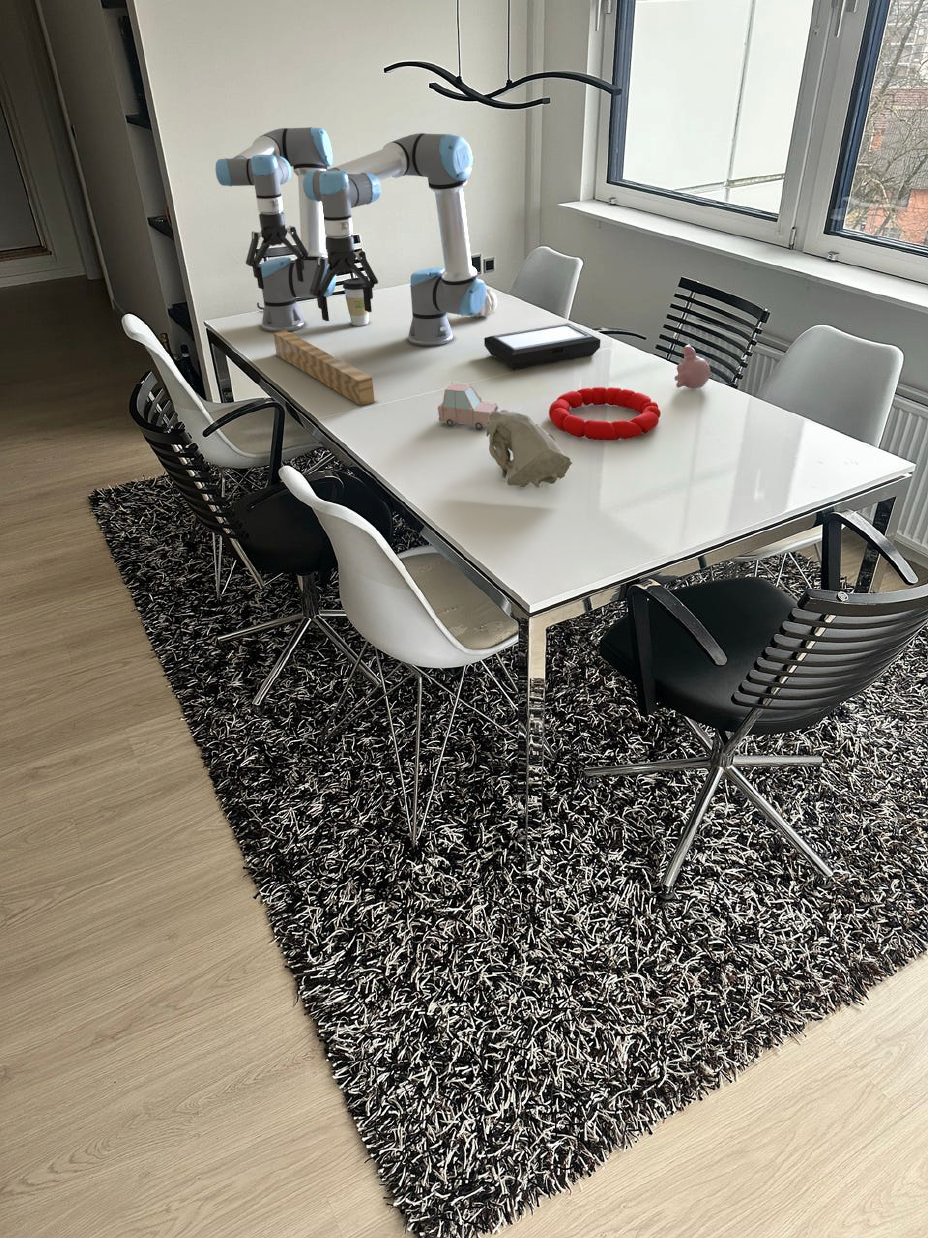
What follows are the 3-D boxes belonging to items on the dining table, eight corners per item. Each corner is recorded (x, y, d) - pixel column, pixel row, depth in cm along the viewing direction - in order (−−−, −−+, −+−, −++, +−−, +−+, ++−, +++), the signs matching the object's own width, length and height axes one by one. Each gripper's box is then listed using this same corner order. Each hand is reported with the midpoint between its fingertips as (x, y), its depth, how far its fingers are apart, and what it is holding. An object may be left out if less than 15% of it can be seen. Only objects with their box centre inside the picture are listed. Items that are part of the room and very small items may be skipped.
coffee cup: (372, 326, 323) (368, 283, 314) (345, 327, 323) (340, 284, 315) (374, 318, 331) (371, 276, 322) (348, 319, 331) (344, 277, 323)
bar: (276, 354, 300) (273, 332, 296) (288, 352, 302) (285, 330, 298) (361, 405, 259) (358, 380, 255) (374, 402, 261) (372, 377, 257)
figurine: (665, 387, 264) (669, 347, 257) (693, 380, 268) (698, 340, 261) (686, 396, 257) (690, 355, 250) (714, 388, 262) (720, 348, 255)
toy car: (488, 432, 240) (488, 396, 234) (436, 426, 244) (434, 390, 239) (499, 419, 247) (499, 384, 241) (448, 413, 252) (447, 379, 246)
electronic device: (511, 352, 275) (484, 335, 290) (511, 372, 278) (484, 354, 294) (600, 336, 285) (569, 321, 300) (599, 356, 289) (569, 339, 304)
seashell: (458, 316, 331) (457, 288, 325) (493, 309, 336) (492, 282, 331) (471, 322, 323) (471, 294, 318) (507, 316, 329) (507, 288, 323)
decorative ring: (589, 435, 224) (684, 402, 234) (527, 398, 247) (617, 369, 256) (589, 461, 229) (683, 427, 238) (529, 422, 251) (617, 393, 260)
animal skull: (496, 517, 219) (521, 479, 201) (463, 429, 225) (484, 384, 207) (557, 503, 225) (586, 465, 206) (523, 417, 231) (549, 373, 212)
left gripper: (237, 219, 262) (249, 293, 274) (313, 208, 273) (321, 280, 285) (227, 215, 267) (239, 288, 279) (303, 205, 278) (311, 275, 290)
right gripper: (303, 244, 231) (313, 326, 243) (386, 230, 242) (392, 310, 254) (290, 239, 236) (301, 320, 248) (372, 226, 248) (379, 304, 260)
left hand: (281, 284), depth 282 cm, fingers open, 13 cm apart
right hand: (347, 315), depth 251 cm, fingers open, 13 cm apart
